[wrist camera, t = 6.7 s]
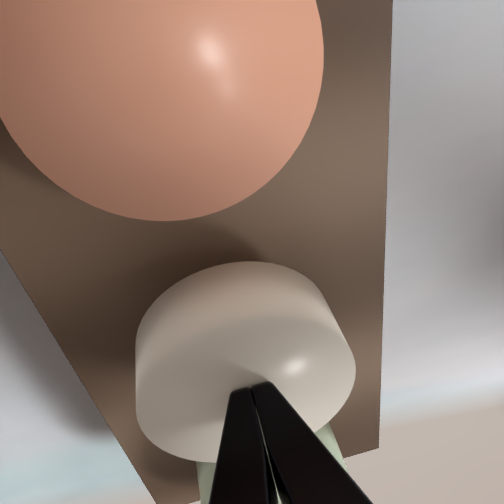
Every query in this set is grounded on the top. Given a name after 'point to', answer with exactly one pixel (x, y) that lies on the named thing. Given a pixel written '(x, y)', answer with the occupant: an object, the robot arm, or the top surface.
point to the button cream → (236, 353)
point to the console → (223, 246)
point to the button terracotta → (159, 97)
